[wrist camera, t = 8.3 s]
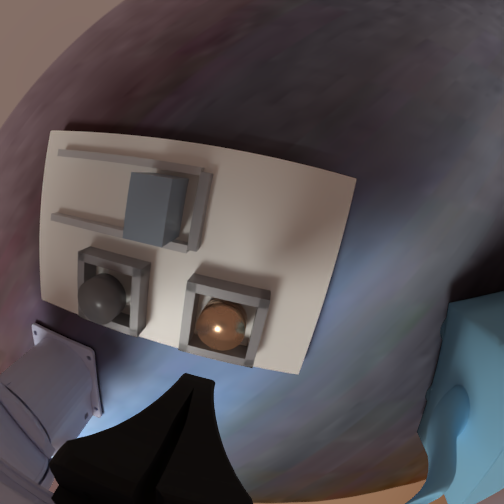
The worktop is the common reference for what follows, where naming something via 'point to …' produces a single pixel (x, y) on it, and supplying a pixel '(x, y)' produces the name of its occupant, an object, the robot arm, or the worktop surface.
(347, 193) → the control panel
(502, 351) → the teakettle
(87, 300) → the black button
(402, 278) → the worktop surface
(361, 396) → the worktop surface
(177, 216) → the block
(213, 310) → the copper button
